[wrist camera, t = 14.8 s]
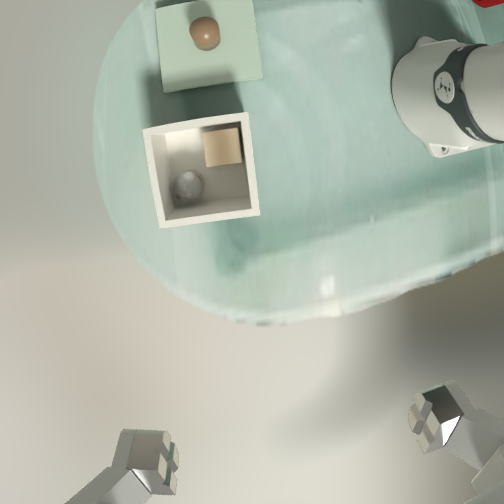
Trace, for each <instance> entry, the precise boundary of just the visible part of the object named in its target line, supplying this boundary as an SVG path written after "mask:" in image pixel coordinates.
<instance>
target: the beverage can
mask: <svg viewBox="0 0 504 504" xmlns="http://www.w3.org/2000/svg"><path fill="white" fill-rule="evenodd" d="M473 1H474V2H475V3H476V4H477V5H479V6H481V7H483V8H487V7H491V6H494V5H498V4H502V3H504V0H473Z"/></svg>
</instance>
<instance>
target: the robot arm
mask: <svg viewBox="0 0 504 504" xmlns="http://www.w3.org/2000/svg"><path fill="white" fill-rule="evenodd" d="M392 94H393V100H394V103H395V107H396V109H397V112H398V114H399V116H400V118H401V119H402V121H403V122H404V124H405V125H406V126H407V128H408V129H409V130H410V131H411V132H412V133H413V134H415V135H416V136H417V137H418V138H420V139H421V140H422V141H423V142H424V144H425V146H426V148H427V150H428V152H429V153H430V154H431V156H432V157H435V158H441V157H445V156H449V155H453V154H457V153H461V152H465V151H469V150H473V149H477V148H481V147H485V146H489V145H493V144H500V143H504V42H502V43H498V44H493V45H487V44H468V45H467V44H465V43H459V42H457V40H455V39H450V40H444V41H437V40H435V39H433V38H430V37H427V36H424V37H420V38H419V39H418V41H417V43H416V45H415V47H414V49H413V50H412V51H410V52H409V53H407V54H406V55H405V56H403V57H402V58H401V59H400V61H399V62H398V64H397V65H396V68H395V70H394V73H393V78H392ZM442 147H443V151H442ZM413 400H414V402H415V403H414V404H413V405H412V406H411V407H410V410H409V413H408V421H409V425H410V427H411V429H412V432H414V433H416V434H418V435H419V436H418V440H417V442H418V443H419V445H420V447H421V449H422V451H423V453H424V454H427V453H429V452H432V451H435V450H437V449H440V448H442V447H444V448H445V449H446V450H448V451H449V452H451V453H452V454H454V455H455V456H457V457H458V458H460V459H461V460H463V461H465V462H466V463H467V464H469V465H471V466H472V467H474V468H475V469H477V470H478V471H479V472H478V474H477V475H476V476H475V477H474V478H473V479H472V482H471V485H472V487H473V489H474V492H475V494H476V497H474V498H472V499H470V500H468V501H467V502H465V503H463V504H504V419H503V418H500V417H498V416H496V415H493V414H491V413H489V412H487V411H485V410H482V409H480V408H478V409H476V408H475V407H474V406H473V404H472V403H471V401H470V400H469V399H468V397H467V396H466V394H465V393H464V392H463V390H462V389H461V388H460V386H459V385H458V384H457V382H456V381H454V380H451V381H448V382H445V383H443V384H439V385H436V386H433V387H431V388H428V389H425V390H422V391H419V392H417V393H416V394H415V395H414V398H413ZM170 440H171V436H170V434H169V432H168V431H158V430H157V431H156V430H137V429H123V430H122V432H121V433H120V437H119V440H118V444H117V448H116V452H115V455H114V459H113V462H112V466H111V467H107V468H106V469H105V470H103V471H102V472H101V473H100V474H99V475H98V476H97V477H95V478H94V479H93V480H92V481H91V482H90V483H89V484H87V485H86V486H85V487H84V488H83V489H82V490H81V491H79V492H78V493H77V494H76V495H74V496H73V497H72V498H71V499H70V500H69V501H67V502H66V503H65V504H145V503H146V502H147V501H148V499H149V498H150V497H151V494H158V495H176V486H177V478H176V477H175V475H174V472H175V471H176V470H177V469H178V466H179V456H178V451H177V448H176V445H175V444H174V443H172V442H171V441H170Z"/></svg>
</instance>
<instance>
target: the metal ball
mask: <svg viewBox="0 0 504 504" xmlns="http://www.w3.org/2000/svg"><path fill="white" fill-rule="evenodd" d="M204 187H205V181H204V178H203V176H202V175H201V174H200V173H199V172H197V171H195V170H187V171H184V172H183V173H181V174H180V175H179V176H178V177H177V178H176V179H175V181H174V183H173V193H174V195H175V197H176V198H177V199H178V200H180V201H182V202H185V203H191V202H194V201H196V200H197V199H198V198H199V197H200V196H201V194H202V192H203V190H204Z"/></svg>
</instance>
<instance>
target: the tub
mask: <svg viewBox="0 0 504 504" xmlns="http://www.w3.org/2000/svg"><path fill="white" fill-rule="evenodd" d="M232 128H238V135H239V143H240V151H241V159H242V163H234V164H227V165H219V166H212V167H207V166H206V159H205V152H204V145H203V138H202V133H204V132H211V131H218V130H225V129H232ZM142 130H143V137H144V144H145V150H146V156H147V163H148V169H149V174H150V180H151V186H152V191H153V197H154V202H155V207H156V212H157V217H158V222H159V227H160V229H162V228H169V227H176V226H182V225H189V224H197V223H204V222H211V221H219V220H226V219H234V218H241V217H249V216H257V215H260V210H259V201H258V192H257V183H256V175H255V166H254V158H253V149H252V141H251V132H250V124H249V116H248V112H243V113H235V114H227V115H220V116H213V117H206V118H200V119H193V120H188V121H182V122H176V123H171V124H166V125H161V126H156V127H151V128H146V129H142ZM187 170H195V171H197V172H199V173H200V174H201V175H202V176H203V178H204V181H205V187H204V190H203V192H202V194H201V196H200V197H199V198H198V199H197V200H196V201H194V202H191V203H185V202H182V201H180V200H178V199H177V198H176V197H175V195H174V193H173V183H174V181H175V179H176V178H177V177H178V176H179V175H180V174H181V173H183V172H184V171H187Z"/></svg>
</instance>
